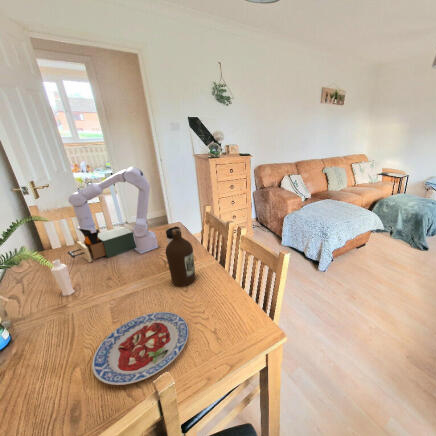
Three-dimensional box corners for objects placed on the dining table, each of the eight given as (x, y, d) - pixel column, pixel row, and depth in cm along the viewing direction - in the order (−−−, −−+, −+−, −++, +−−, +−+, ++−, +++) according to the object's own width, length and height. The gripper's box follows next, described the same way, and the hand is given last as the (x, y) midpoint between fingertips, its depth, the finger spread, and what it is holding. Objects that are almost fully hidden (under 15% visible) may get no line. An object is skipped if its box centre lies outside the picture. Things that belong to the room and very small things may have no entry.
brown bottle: (166, 286, 103) (155, 234, 93) (179, 272, 112) (171, 224, 103) (189, 288, 102) (181, 236, 92) (200, 274, 112) (194, 225, 102)
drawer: (76, 266, 111) (71, 252, 108) (68, 259, 117) (63, 245, 114) (118, 251, 125) (114, 238, 122) (109, 245, 130) (106, 233, 127)
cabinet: (107, 257, 121) (103, 241, 117) (98, 250, 127) (93, 234, 123) (136, 247, 131) (132, 231, 128) (126, 241, 137) (122, 226, 134)
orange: (97, 241, 122) (94, 231, 120) (101, 244, 120) (98, 234, 118) (84, 244, 118) (81, 235, 116) (88, 248, 116) (85, 238, 114)
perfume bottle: (58, 294, 96) (45, 262, 90) (72, 287, 99) (60, 257, 94) (64, 298, 94) (50, 266, 88) (77, 291, 98) (65, 260, 92)
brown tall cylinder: (188, 262, 120) (183, 226, 112) (181, 270, 114) (175, 232, 106) (176, 261, 120) (170, 225, 113) (169, 269, 114) (162, 231, 107)
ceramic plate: (88, 345, 76) (85, 338, 74) (172, 305, 92) (171, 299, 91) (103, 412, 59) (99, 404, 58) (202, 349, 76) (201, 342, 75)
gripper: (68, 215, 114) (77, 240, 119) (79, 223, 107) (88, 249, 112) (86, 211, 120) (94, 235, 125) (98, 218, 112) (105, 243, 117)
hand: (92, 241), depth 119 cm, fingers closed on orange, 5 cm apart
